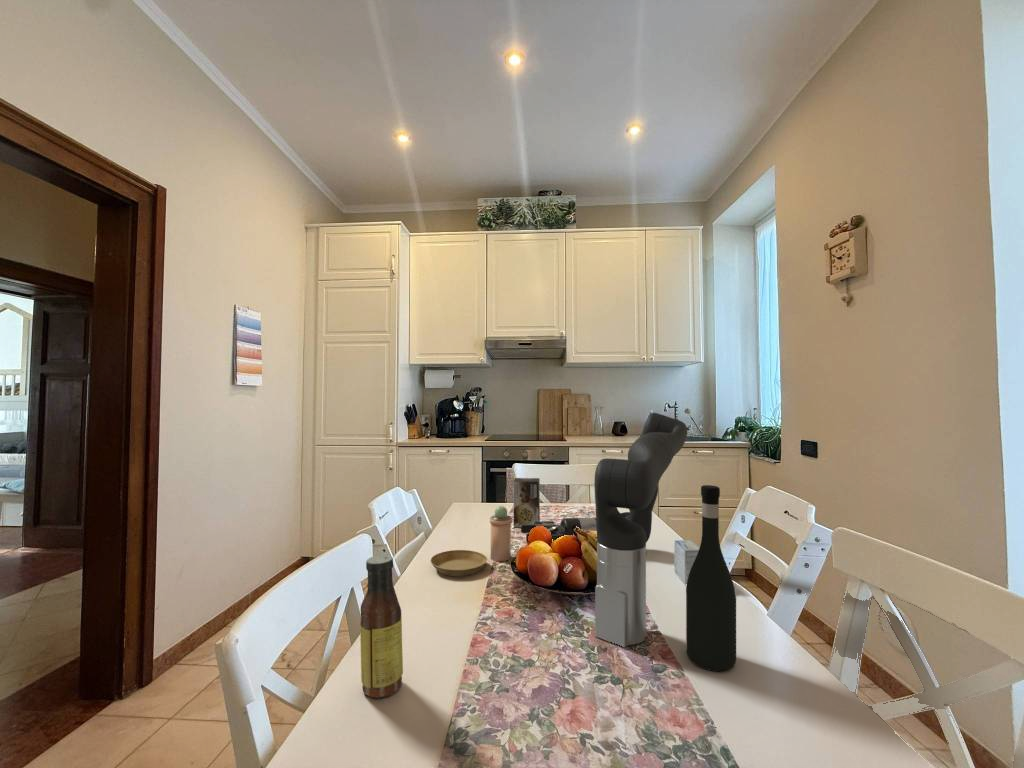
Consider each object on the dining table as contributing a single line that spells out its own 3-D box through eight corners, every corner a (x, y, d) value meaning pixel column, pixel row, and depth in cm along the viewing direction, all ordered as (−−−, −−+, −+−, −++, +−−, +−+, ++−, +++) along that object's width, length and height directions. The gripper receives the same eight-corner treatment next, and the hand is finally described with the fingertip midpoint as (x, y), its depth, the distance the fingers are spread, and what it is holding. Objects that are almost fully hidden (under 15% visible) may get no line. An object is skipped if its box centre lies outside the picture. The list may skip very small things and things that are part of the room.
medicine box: (703, 586, 112) (703, 550, 112) (684, 586, 112) (684, 549, 112) (691, 573, 120) (691, 539, 120) (674, 573, 120) (674, 539, 120)
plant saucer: (458, 555, 133) (458, 545, 133) (498, 567, 124) (498, 557, 124) (418, 570, 121) (418, 560, 121) (458, 585, 112) (459, 574, 112)
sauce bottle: (409, 679, 75) (411, 554, 75) (389, 704, 69) (391, 568, 69) (373, 672, 76) (375, 550, 77) (350, 696, 70) (352, 563, 71)
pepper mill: (501, 563, 126) (501, 510, 126) (484, 558, 130) (485, 506, 130) (516, 557, 131) (516, 506, 131) (499, 552, 135) (500, 502, 135)
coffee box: (540, 523, 166) (540, 477, 166) (539, 528, 159) (539, 481, 160) (514, 522, 166) (514, 477, 167) (512, 527, 160) (513, 480, 160)
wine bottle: (676, 652, 83) (676, 483, 84) (711, 644, 86) (710, 480, 86) (710, 678, 75) (709, 492, 76) (747, 668, 78) (746, 489, 79)
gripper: (572, 512, 141) (519, 513, 139) (586, 525, 127) (528, 527, 125) (572, 537, 141) (519, 539, 139) (586, 552, 127) (528, 555, 124)
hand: (523, 533), depth 132 cm, fingers open, 8 cm apart
